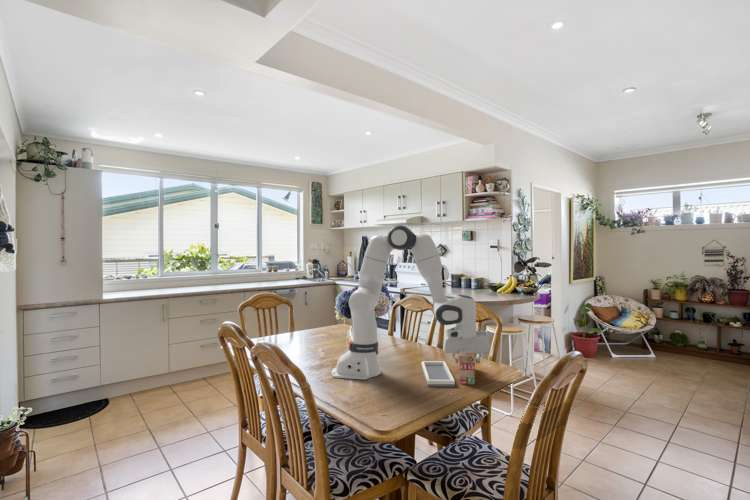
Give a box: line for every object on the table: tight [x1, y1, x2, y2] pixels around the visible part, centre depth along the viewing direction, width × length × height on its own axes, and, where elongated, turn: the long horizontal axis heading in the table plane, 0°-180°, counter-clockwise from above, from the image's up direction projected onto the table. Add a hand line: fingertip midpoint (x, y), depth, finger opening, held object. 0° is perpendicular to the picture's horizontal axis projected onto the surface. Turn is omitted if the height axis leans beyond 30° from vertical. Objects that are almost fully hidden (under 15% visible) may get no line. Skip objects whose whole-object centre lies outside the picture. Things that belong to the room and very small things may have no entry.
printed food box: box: [457, 350, 476, 385], centre depth 164 cm, size 21×6×12 cm, turn 169°
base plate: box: [421, 360, 456, 388], centre depth 164 cm, size 11×26×2 cm, turn 178°
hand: (466, 362), depth 163 cm, fingers open, 8 cm apart
